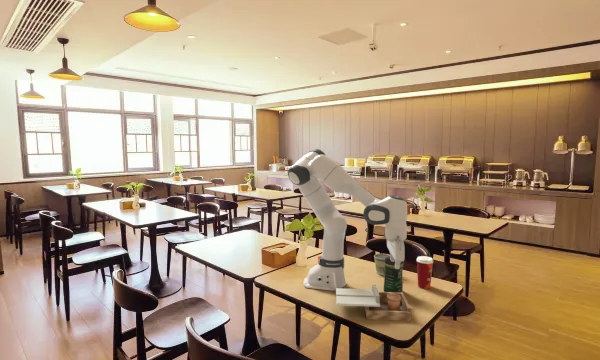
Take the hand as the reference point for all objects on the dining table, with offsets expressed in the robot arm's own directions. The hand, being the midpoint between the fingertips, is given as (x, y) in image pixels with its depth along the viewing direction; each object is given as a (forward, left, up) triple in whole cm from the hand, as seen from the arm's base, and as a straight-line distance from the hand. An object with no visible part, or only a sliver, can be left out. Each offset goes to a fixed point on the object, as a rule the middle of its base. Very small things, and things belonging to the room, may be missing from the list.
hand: (394, 264), depth 147 cm
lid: (-16, 0, -15) cm, 22 cm away
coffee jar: (+3, +20, -21) cm, 29 cm away
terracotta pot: (0, 0, -20) cm, 20 cm away
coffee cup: (+20, +28, -21) cm, 40 cm away
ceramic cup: (+3, +44, -21) cm, 49 cm away
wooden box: (-4, 0, -21) cm, 21 cm away
